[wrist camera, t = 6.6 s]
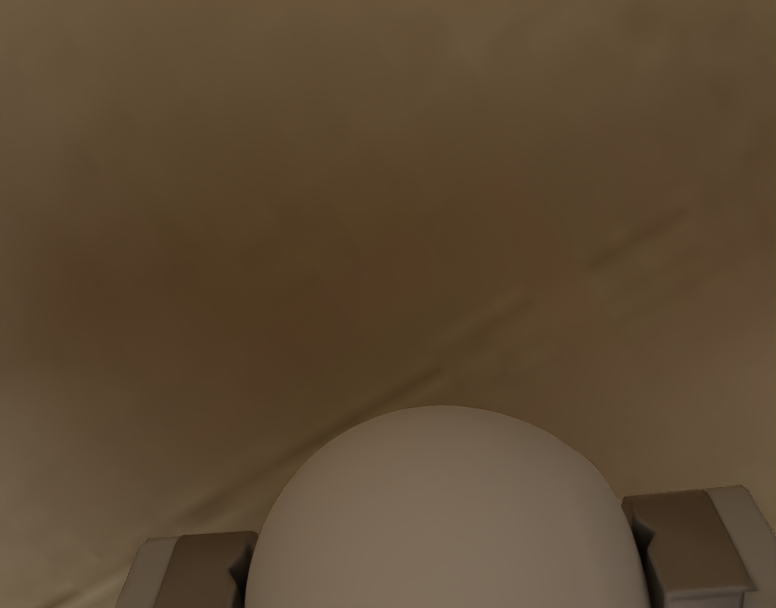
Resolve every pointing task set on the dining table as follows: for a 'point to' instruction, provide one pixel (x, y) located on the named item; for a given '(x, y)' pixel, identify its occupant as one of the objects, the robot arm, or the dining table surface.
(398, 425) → the white ball
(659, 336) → the dining table surface
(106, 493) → the dining table surface
